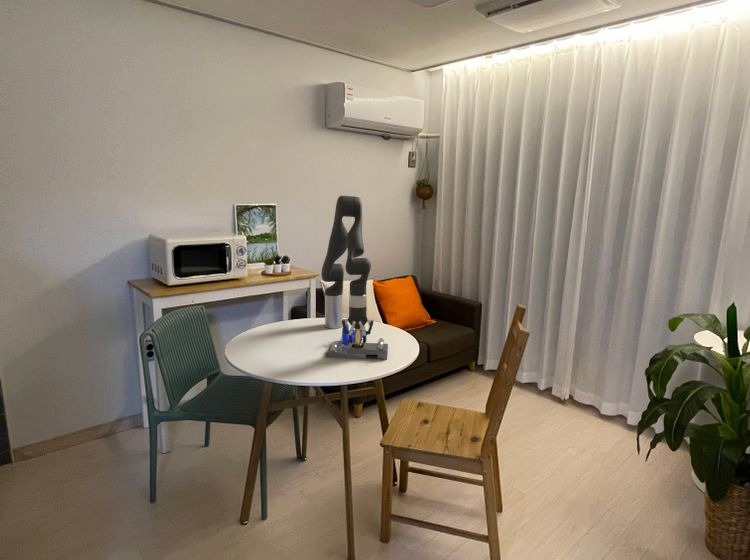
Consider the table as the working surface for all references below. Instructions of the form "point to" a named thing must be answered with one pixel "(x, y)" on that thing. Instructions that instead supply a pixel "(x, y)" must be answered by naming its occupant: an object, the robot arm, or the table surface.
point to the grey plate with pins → (358, 350)
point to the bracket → (347, 336)
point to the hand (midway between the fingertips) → (357, 342)
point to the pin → (358, 338)
